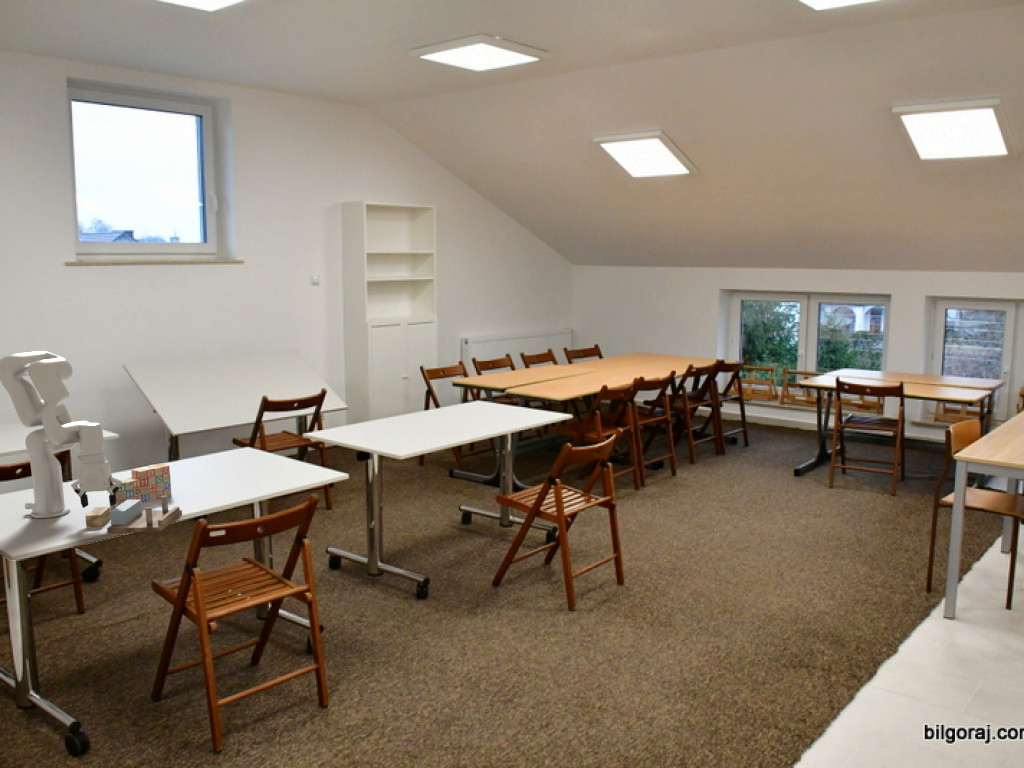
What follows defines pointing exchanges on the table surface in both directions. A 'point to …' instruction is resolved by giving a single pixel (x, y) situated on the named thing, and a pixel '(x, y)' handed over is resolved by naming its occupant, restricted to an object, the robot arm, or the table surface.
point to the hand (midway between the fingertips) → (99, 505)
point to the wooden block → (97, 517)
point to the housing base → (142, 522)
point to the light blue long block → (125, 512)
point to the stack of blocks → (145, 484)
